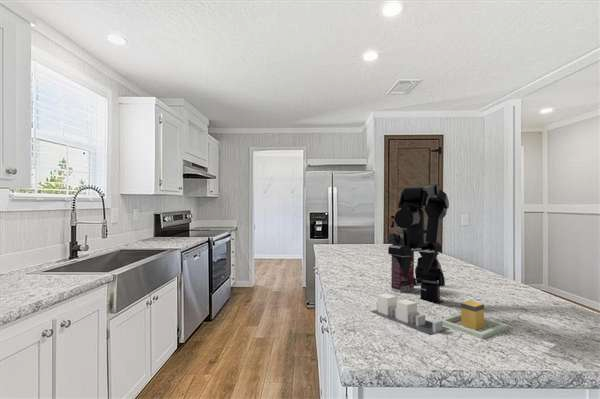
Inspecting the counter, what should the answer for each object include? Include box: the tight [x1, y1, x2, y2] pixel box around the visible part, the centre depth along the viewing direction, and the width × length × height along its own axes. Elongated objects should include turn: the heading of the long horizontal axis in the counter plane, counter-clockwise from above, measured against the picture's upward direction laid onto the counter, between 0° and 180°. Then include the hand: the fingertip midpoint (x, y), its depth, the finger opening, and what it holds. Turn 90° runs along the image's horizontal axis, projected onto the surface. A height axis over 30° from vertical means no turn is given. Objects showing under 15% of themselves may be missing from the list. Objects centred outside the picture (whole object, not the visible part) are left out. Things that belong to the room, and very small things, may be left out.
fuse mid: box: [396, 298, 418, 323], centre depth 96 cm, size 4×4×5 cm
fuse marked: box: [460, 300, 485, 331], centre depth 90 cm, size 4×4×7 cm
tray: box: [438, 312, 510, 340], centre depth 90 cm, size 12×12×2 cm
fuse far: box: [377, 293, 398, 315], centre depth 102 cm, size 4×4×5 cm
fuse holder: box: [370, 301, 450, 336], centre depth 95 cm, size 8×22×4 cm, turn 31°
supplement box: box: [390, 251, 415, 293], centre depth 134 cm, size 9×5×16 cm, turn 123°
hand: (415, 275), depth 105 cm, fingers open, 9 cm apart
